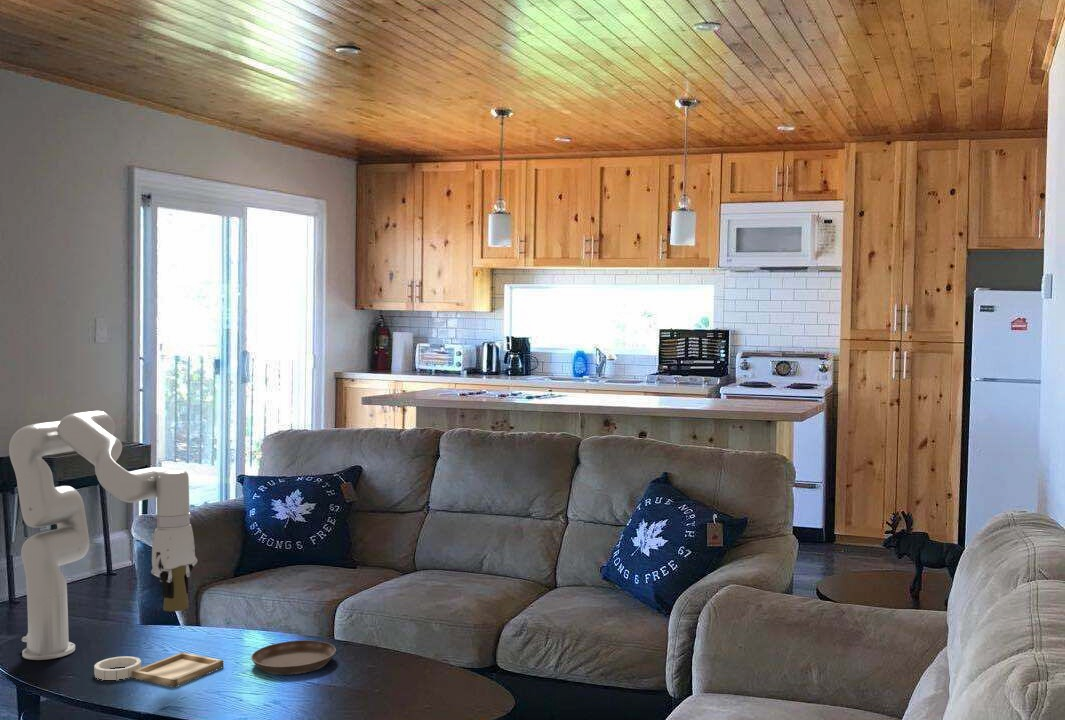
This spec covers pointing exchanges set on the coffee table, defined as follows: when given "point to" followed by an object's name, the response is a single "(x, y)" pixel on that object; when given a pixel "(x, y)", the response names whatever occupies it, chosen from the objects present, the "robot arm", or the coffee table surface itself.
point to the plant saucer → (293, 657)
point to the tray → (177, 669)
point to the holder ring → (106, 673)
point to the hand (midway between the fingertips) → (175, 594)
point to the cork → (177, 591)
